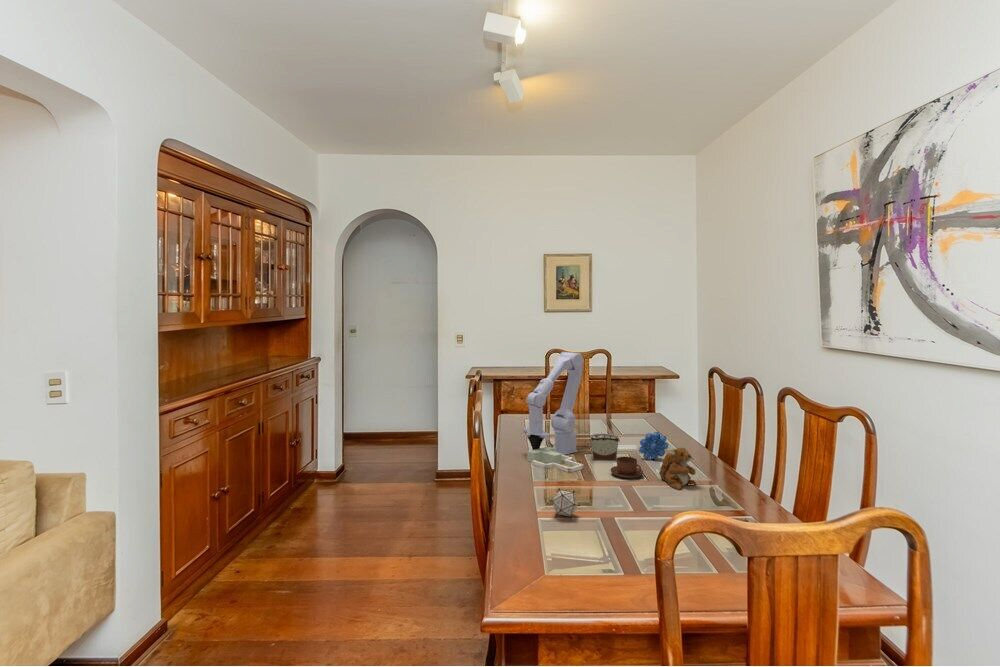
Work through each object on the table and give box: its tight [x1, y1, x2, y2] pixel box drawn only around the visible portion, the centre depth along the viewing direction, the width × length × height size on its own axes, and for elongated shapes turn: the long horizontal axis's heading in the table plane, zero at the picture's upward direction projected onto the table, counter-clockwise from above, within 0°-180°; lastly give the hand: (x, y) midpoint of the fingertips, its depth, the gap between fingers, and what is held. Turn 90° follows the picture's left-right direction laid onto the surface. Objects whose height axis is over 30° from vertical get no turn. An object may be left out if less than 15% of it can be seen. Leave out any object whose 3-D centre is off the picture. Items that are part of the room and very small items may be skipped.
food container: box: [589, 433, 621, 462], centre depth 215 cm, size 12×6×10 cm, turn 84°
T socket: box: [531, 455, 585, 473], centre depth 205 cm, size 16×17×2 cm
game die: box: [549, 487, 581, 520], centre depth 154 cm, size 9×8×10 cm
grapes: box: [638, 431, 669, 460], centre depth 213 cm, size 12×7×12 cm, turn 70°
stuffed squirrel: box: [658, 447, 697, 490], centre depth 184 cm, size 10×14×13 cm
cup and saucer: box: [610, 456, 644, 479], centre depth 193 cm, size 12×12×6 cm
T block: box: [526, 446, 563, 465], centre depth 211 cm, size 12×12×4 cm
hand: (535, 452), depth 216 cm, fingers closed
